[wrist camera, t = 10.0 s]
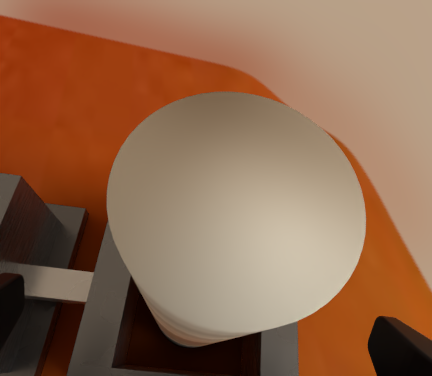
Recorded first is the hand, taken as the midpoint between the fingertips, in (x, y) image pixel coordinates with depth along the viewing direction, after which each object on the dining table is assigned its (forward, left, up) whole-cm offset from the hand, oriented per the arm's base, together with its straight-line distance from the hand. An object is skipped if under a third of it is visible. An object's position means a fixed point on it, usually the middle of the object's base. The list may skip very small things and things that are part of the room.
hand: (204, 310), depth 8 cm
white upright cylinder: (+1, +1, -9) cm, 9 cm away
